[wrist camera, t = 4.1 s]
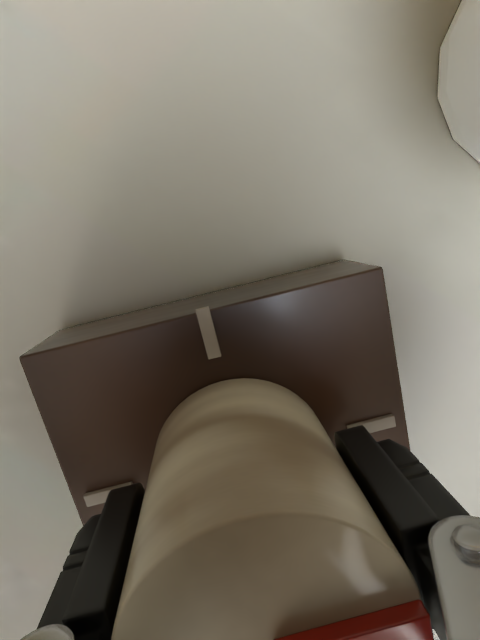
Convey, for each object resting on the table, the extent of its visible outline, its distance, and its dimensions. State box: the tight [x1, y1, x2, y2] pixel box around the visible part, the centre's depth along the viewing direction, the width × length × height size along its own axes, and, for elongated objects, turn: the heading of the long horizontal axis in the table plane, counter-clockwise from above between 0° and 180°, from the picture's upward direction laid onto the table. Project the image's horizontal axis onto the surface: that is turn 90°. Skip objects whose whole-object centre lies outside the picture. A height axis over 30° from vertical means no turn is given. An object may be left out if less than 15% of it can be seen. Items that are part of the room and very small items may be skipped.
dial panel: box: [20, 260, 410, 526], centre depth 13 cm, size 10×9×3 cm
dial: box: [111, 378, 434, 640], centre depth 9 cm, size 5×5×6 cm
